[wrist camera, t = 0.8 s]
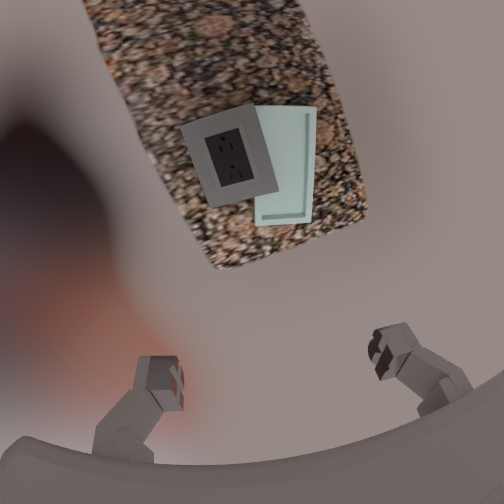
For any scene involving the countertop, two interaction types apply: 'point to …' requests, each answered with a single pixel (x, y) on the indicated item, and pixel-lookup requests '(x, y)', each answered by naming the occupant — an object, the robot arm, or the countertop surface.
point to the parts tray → (288, 163)
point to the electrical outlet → (230, 155)
